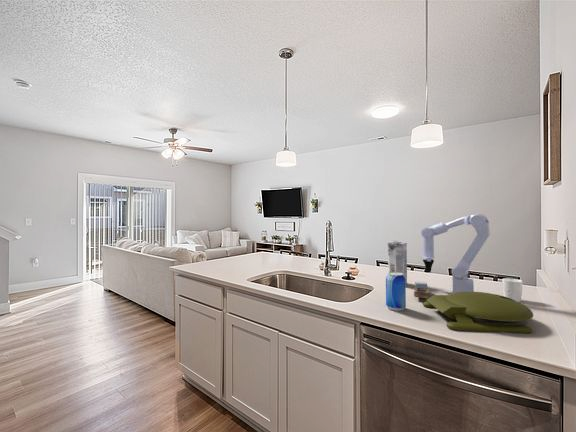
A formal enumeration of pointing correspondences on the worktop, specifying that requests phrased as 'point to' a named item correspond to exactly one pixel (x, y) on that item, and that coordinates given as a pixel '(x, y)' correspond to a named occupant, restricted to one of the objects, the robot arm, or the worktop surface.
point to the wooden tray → (421, 293)
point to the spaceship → (481, 311)
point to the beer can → (395, 291)
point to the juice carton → (397, 258)
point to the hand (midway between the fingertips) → (428, 272)
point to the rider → (421, 285)
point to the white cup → (512, 288)
